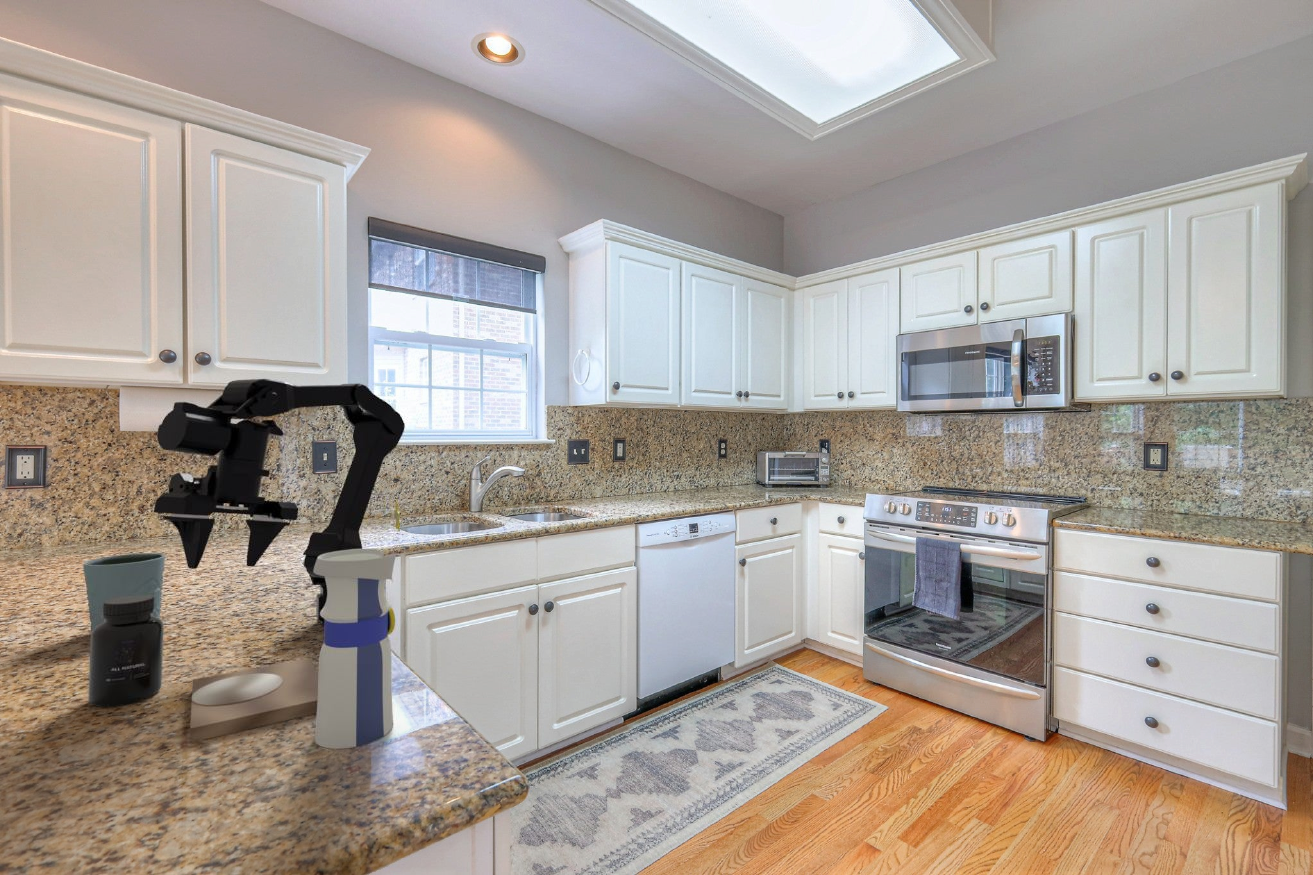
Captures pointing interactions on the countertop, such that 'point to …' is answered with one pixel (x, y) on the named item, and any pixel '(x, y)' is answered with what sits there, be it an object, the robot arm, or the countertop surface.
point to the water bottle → (355, 648)
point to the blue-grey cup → (123, 581)
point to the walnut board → (252, 698)
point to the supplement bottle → (126, 652)
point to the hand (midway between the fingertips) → (222, 567)
